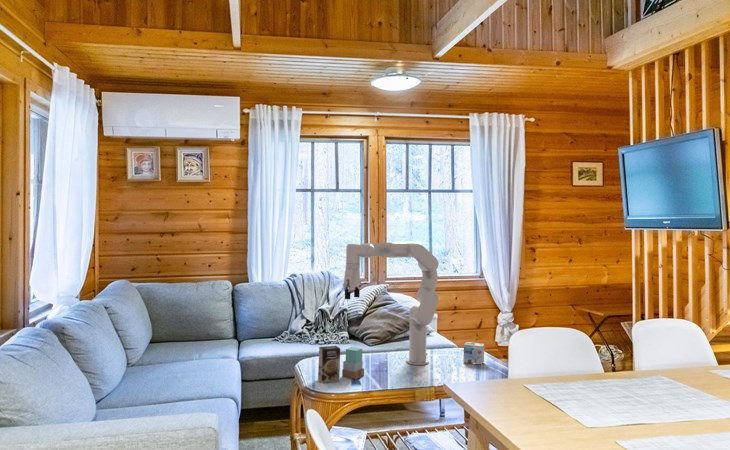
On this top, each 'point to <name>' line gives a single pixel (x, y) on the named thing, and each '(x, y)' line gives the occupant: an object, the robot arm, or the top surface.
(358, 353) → the teal cube
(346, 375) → the walnut base block
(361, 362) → the slate grey top block
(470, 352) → the light bulb box
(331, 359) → the coffee box
